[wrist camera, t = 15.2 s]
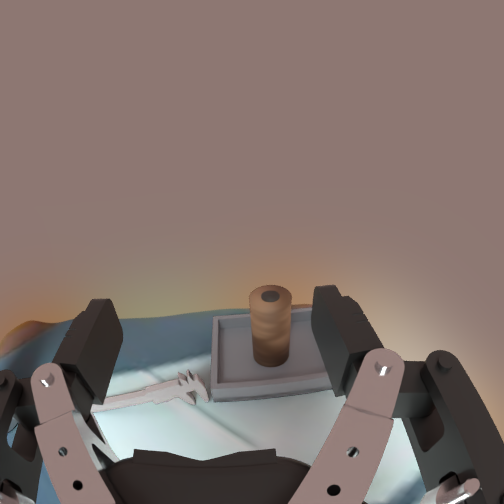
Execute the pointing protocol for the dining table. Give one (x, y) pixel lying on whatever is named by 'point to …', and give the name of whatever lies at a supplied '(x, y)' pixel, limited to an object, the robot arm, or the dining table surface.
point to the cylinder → (270, 324)
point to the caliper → (159, 393)
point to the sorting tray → (259, 377)
